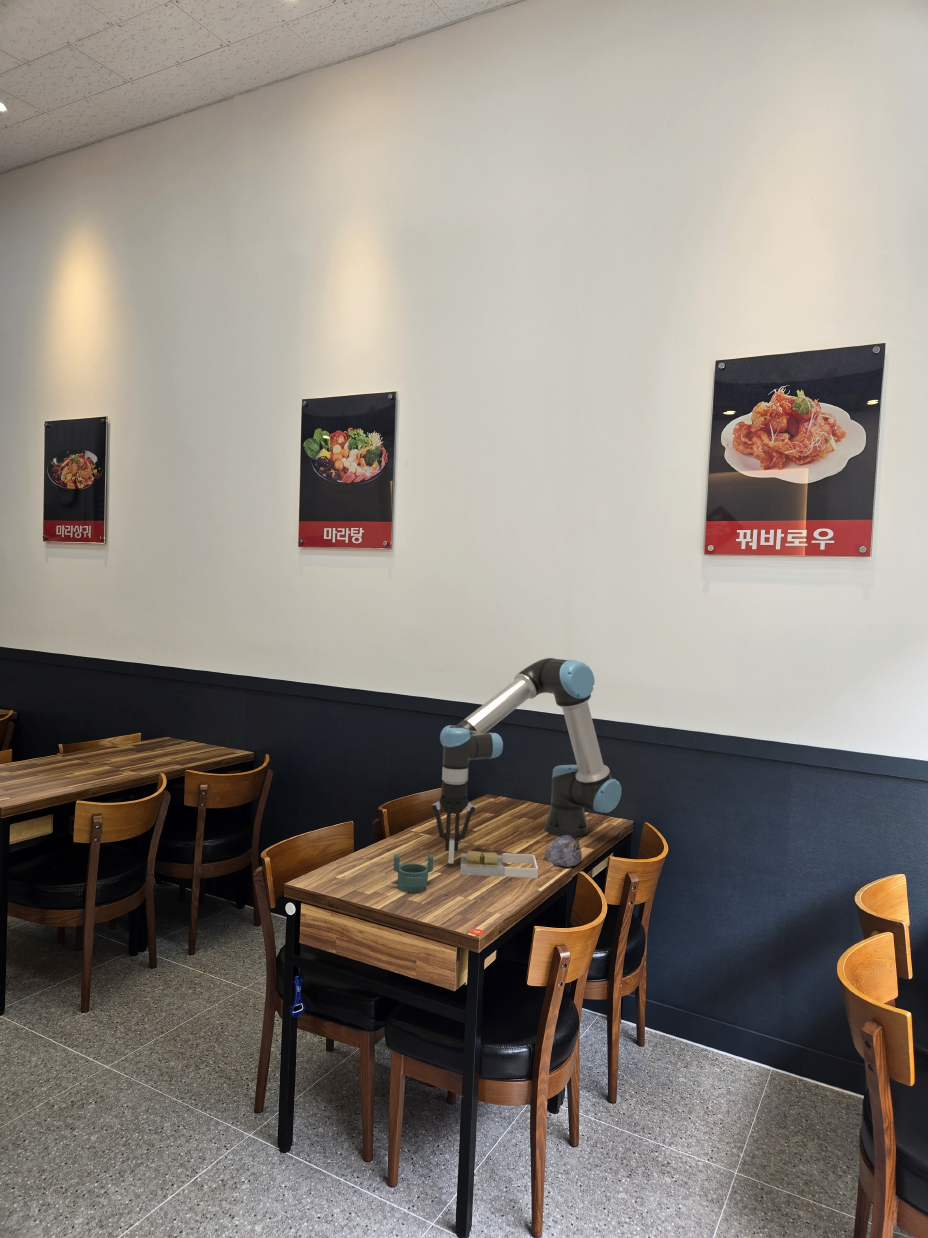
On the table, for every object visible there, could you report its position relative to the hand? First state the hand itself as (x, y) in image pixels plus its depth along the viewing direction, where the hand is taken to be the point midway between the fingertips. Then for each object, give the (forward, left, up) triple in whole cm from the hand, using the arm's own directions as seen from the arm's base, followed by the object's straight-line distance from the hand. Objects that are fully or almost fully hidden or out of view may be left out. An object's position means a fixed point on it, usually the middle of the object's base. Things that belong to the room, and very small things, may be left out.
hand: (451, 862), depth 228 cm
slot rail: (-9, 0, -2) cm, 9 cm away
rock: (-34, -11, -3) cm, 36 cm away
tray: (-20, 0, -2) cm, 20 cm away
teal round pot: (+10, +16, -3) cm, 19 cm away
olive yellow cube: (-7, 0, -1) cm, 7 cm away
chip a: (-11, 0, -1) cm, 11 cm away
